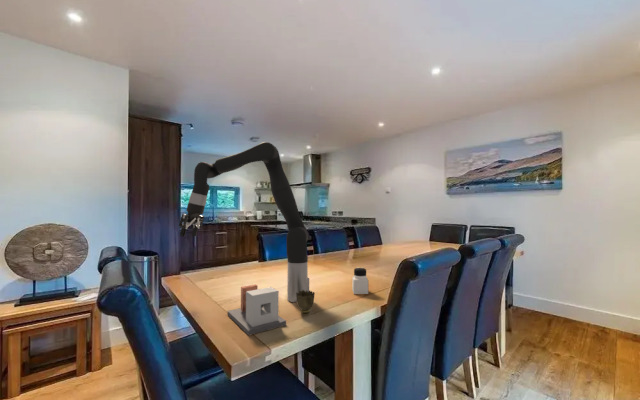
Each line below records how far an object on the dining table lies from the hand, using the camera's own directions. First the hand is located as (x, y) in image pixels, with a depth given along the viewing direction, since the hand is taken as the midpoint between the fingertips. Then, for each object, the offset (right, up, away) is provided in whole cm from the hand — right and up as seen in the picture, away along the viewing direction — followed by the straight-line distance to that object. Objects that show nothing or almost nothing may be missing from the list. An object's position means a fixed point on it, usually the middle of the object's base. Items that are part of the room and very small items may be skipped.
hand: (188, 236), depth 133 cm
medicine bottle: (+83, -29, +6) cm, 88 cm away
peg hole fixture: (+39, -28, -29) cm, 55 cm away
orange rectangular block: (+38, -26, -27) cm, 53 cm away
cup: (+57, -28, -22) cm, 67 cm away
